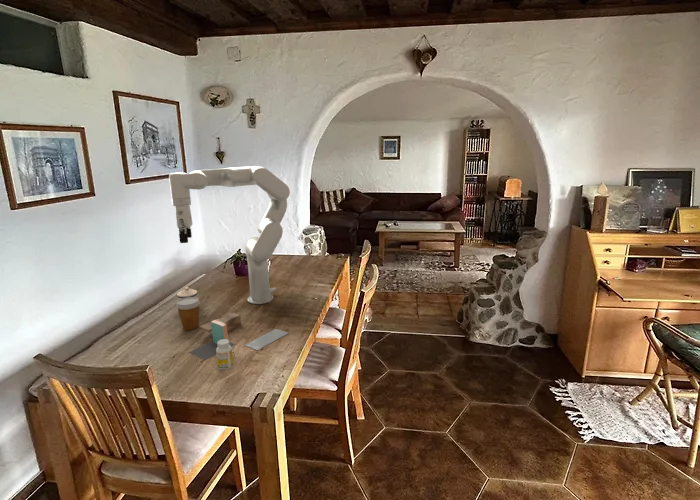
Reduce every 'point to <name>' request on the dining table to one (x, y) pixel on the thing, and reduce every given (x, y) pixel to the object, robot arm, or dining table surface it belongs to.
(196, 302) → the disposable coffee cup
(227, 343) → the supplement bottle
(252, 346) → the rest
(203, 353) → the mat
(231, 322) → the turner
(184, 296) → the teacup with lid
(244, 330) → the dining table surface
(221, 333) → the tile
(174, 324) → the dining table surface
